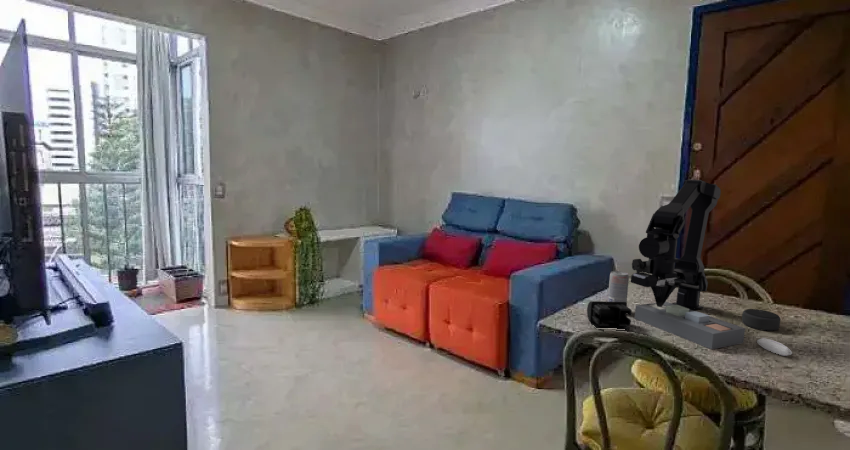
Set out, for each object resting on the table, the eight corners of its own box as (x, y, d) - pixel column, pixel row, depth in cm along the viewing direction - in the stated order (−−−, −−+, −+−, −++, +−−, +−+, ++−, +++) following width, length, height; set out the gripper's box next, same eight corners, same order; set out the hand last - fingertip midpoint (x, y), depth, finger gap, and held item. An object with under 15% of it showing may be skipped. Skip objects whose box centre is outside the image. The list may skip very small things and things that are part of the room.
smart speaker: (776, 324, 138) (778, 311, 138) (781, 334, 131) (783, 320, 130) (739, 319, 142) (741, 306, 142) (743, 328, 135) (744, 314, 134)
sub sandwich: (784, 359, 114) (785, 348, 113) (754, 346, 122) (755, 335, 121) (794, 358, 115) (796, 347, 114) (763, 345, 122) (765, 334, 122)
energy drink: (622, 309, 149) (625, 271, 147) (628, 314, 143) (631, 275, 142) (604, 308, 149) (608, 270, 148) (609, 313, 144) (613, 274, 142)
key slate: (694, 319, 131) (695, 311, 131) (708, 324, 127) (709, 315, 127) (684, 321, 129) (685, 312, 129) (698, 326, 126) (699, 317, 125)
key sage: (675, 313, 136) (676, 304, 136) (688, 317, 133) (689, 308, 132) (665, 314, 135) (666, 306, 134) (678, 319, 131) (679, 310, 131)
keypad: (663, 314, 145) (665, 301, 144) (743, 343, 123) (745, 328, 122) (634, 318, 140) (635, 305, 139) (711, 349, 118) (713, 333, 118)
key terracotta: (715, 332, 126) (716, 323, 125) (729, 338, 122) (730, 328, 122) (704, 334, 124) (705, 325, 124) (719, 340, 121) (720, 330, 120)
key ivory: (657, 311, 142) (658, 303, 142) (669, 316, 138) (670, 307, 138) (647, 313, 140) (648, 305, 140) (659, 317, 137) (660, 309, 136)
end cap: (620, 321, 137) (622, 299, 136) (631, 330, 130) (633, 306, 129) (585, 321, 137) (587, 298, 136) (595, 330, 130) (597, 306, 129)
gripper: (664, 247, 148) (659, 295, 150) (618, 250, 141) (614, 301, 143) (696, 254, 138) (691, 306, 140) (649, 258, 130) (644, 313, 133)
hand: (659, 306), depth 139 cm, fingers closed, pressing on key ivory
